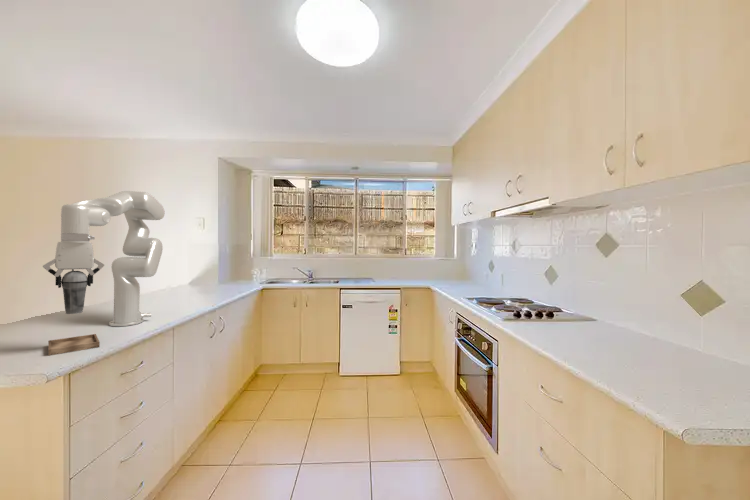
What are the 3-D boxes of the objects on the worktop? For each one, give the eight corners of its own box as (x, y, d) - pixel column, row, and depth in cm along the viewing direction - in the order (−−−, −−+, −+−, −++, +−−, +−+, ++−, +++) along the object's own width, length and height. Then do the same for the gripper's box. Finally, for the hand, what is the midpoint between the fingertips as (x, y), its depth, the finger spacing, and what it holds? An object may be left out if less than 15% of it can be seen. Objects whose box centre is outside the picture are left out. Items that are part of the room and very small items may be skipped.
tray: (95, 338, 123) (95, 333, 123) (99, 347, 114) (99, 341, 114) (48, 345, 113) (48, 340, 113) (48, 355, 104) (48, 349, 104)
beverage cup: (92, 311, 116) (93, 258, 115) (69, 315, 109) (70, 259, 108) (79, 309, 118) (80, 257, 117) (55, 313, 111) (56, 258, 110)
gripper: (105, 239, 122) (104, 283, 122) (40, 237, 109) (40, 287, 109) (107, 239, 117) (107, 285, 117) (40, 237, 104) (39, 289, 104)
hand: (74, 286), depth 113 cm, fingers closed on beverage cup, 7 cm apart
